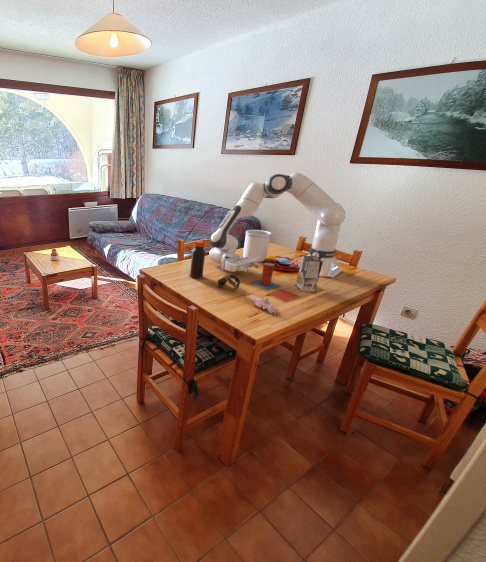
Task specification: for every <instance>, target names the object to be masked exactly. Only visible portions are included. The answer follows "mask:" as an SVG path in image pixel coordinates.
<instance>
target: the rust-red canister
mask: <svg viewBox="0 0 486 562" xmlns="http://www.w3.org/2000/svg"><path fill="white" fill-rule="evenodd" d="M274 269H275V264H274V263H271V262H264V263H263V267H262V273H261V277H260V280H261V282H260V284H261V285H264V286H270V284H271V282H272V278H273V274H274Z"/></svg>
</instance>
